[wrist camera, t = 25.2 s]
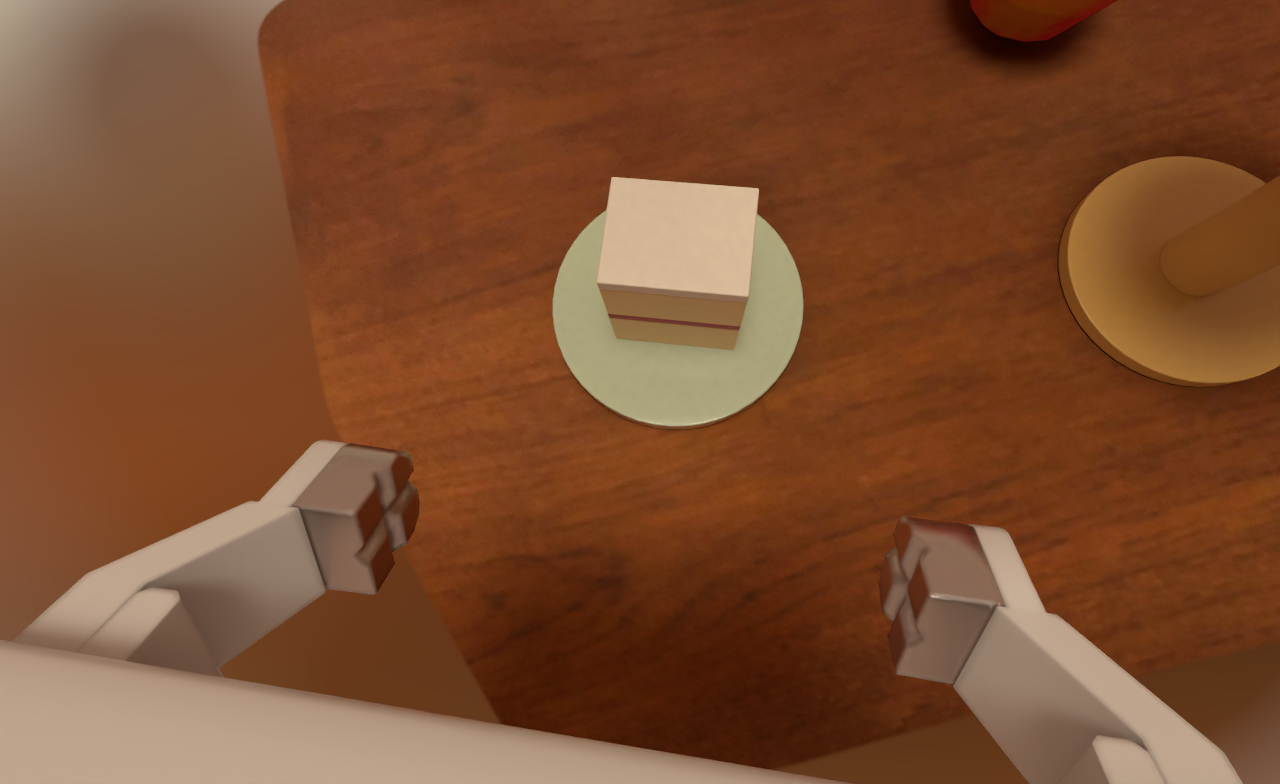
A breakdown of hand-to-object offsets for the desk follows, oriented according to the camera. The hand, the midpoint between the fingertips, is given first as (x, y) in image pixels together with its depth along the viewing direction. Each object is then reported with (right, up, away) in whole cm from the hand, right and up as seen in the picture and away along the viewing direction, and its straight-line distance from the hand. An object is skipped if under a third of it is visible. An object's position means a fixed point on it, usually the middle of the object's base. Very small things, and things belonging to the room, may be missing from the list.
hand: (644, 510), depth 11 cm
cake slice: (+2, +7, +25) cm, 26 cm away
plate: (+2, +7, +26) cm, 27 cm away
